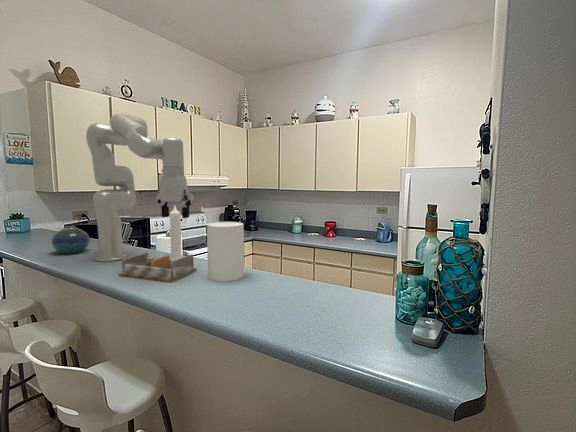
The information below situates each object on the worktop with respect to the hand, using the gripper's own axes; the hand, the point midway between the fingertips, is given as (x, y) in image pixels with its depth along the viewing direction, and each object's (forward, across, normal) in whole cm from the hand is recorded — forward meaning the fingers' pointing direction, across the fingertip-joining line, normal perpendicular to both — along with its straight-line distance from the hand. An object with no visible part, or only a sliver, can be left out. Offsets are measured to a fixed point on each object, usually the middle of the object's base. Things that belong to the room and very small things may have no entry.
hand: (175, 217), depth 121 cm
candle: (+22, -15, +16) cm, 31 cm away
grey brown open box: (+22, -7, -2) cm, 23 cm away
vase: (+21, -72, +8) cm, 76 cm away
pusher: (+21, -6, -2) cm, 22 cm away
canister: (+23, +18, +6) cm, 30 cm away
